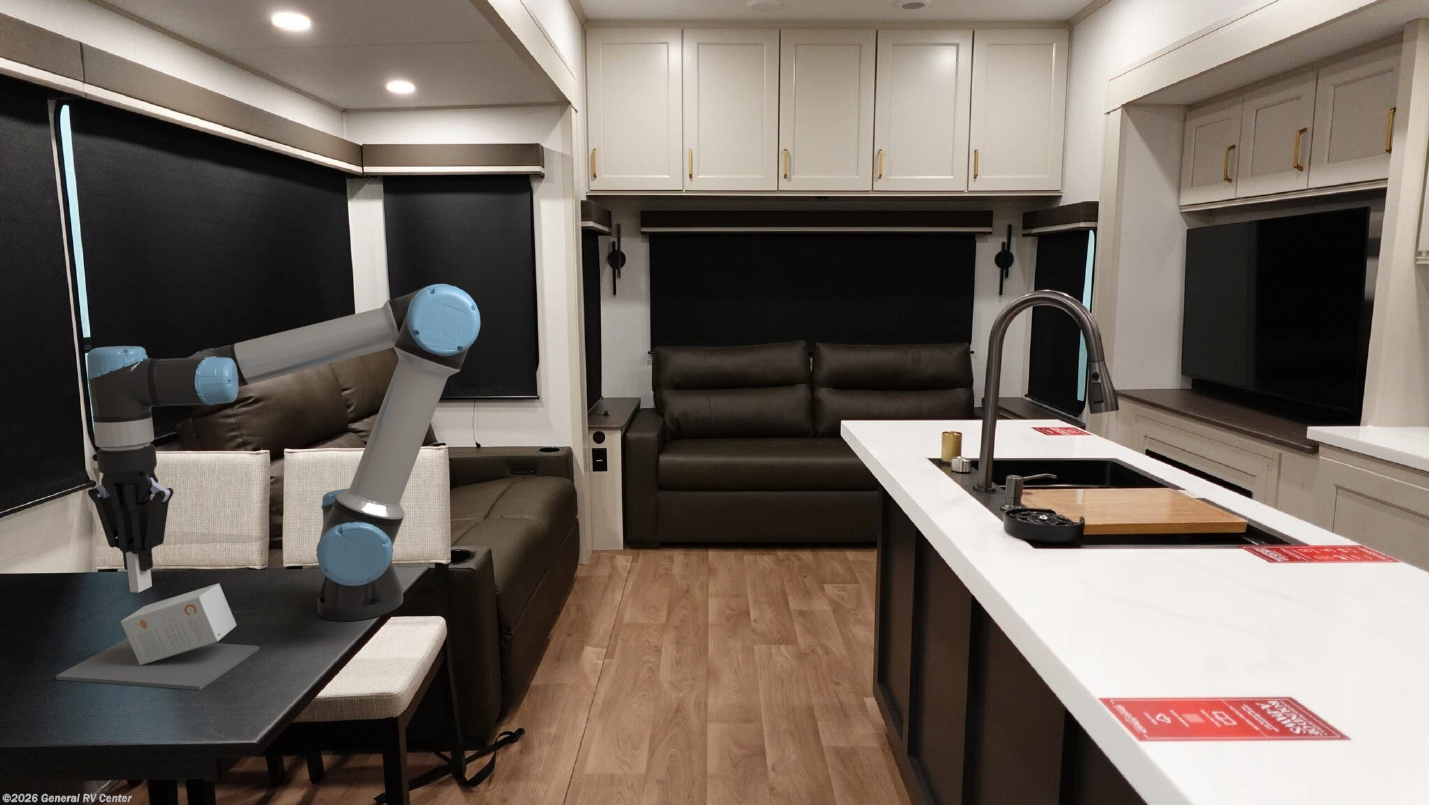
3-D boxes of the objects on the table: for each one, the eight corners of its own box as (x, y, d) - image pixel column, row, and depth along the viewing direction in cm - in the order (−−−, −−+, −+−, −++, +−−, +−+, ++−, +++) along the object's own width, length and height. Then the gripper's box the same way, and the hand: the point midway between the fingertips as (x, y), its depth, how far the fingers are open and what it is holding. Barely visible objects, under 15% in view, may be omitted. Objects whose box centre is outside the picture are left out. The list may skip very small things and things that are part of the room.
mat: (259, 649, 138) (259, 646, 138) (199, 690, 124) (199, 686, 124) (129, 640, 140) (128, 637, 140) (56, 679, 126) (55, 676, 126)
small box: (162, 648, 136) (238, 626, 136) (138, 666, 130) (218, 642, 130) (143, 605, 135) (220, 582, 135) (118, 620, 128) (199, 596, 129)
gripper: (182, 441, 130) (195, 582, 134) (107, 439, 131) (123, 578, 135) (145, 451, 123) (160, 600, 126) (66, 449, 124) (83, 596, 128)
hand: (141, 589), depth 131 cm, fingers closed
